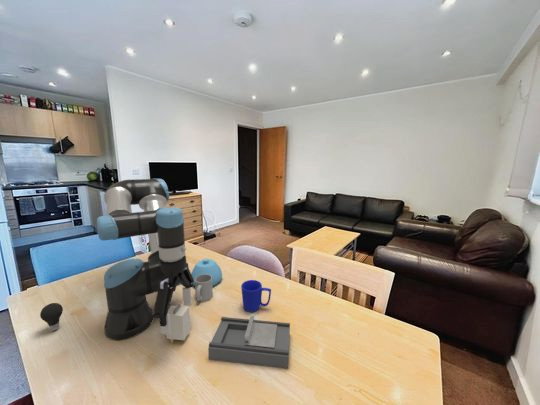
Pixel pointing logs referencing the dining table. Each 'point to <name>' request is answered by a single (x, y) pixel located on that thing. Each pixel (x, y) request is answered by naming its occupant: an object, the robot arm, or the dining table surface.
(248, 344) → the plate
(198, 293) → the cup
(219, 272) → the sugar bowl
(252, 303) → the mug
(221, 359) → the sliding lid box
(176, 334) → the plug
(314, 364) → the dining table surface
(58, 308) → the light bulb
